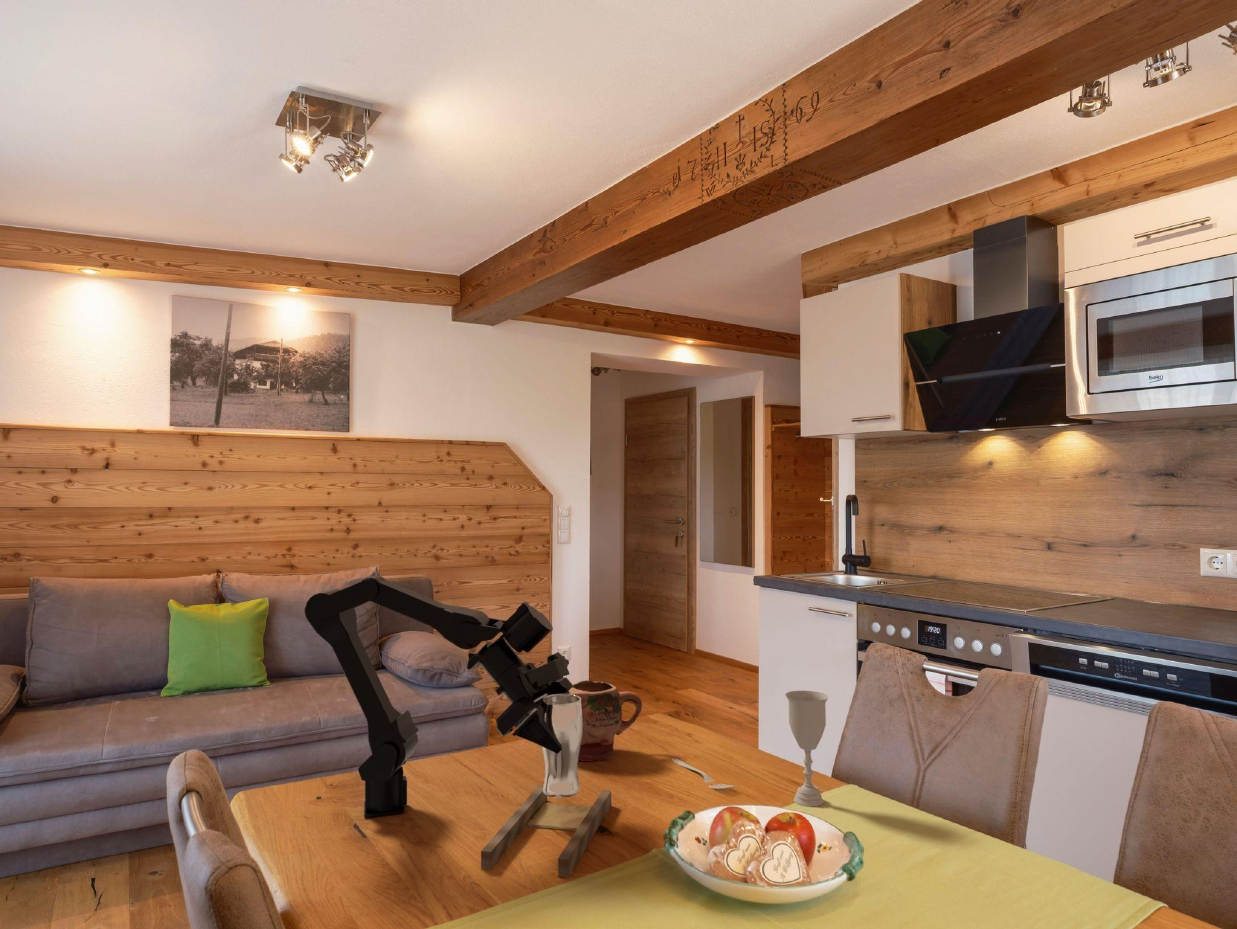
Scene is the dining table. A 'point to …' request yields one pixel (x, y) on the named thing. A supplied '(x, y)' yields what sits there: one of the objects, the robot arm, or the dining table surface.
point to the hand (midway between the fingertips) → (568, 744)
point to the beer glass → (562, 744)
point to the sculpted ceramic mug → (602, 717)
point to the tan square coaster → (559, 816)
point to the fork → (707, 779)
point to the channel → (525, 814)
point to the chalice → (807, 736)
